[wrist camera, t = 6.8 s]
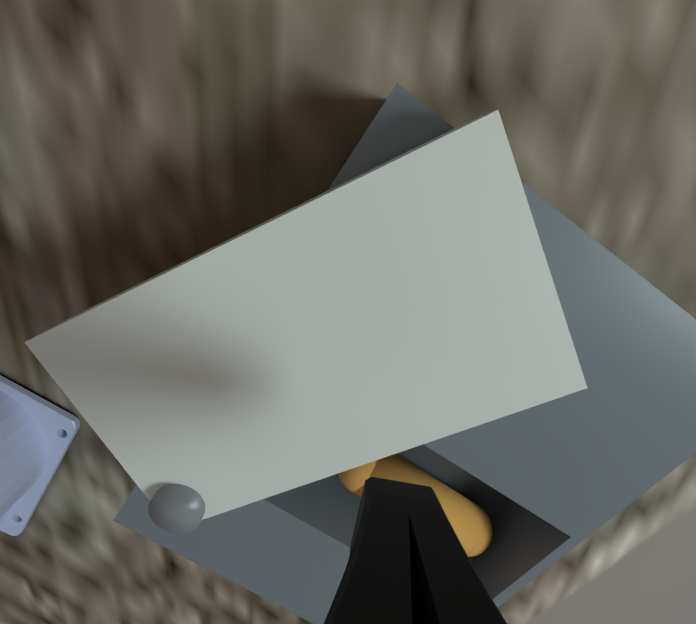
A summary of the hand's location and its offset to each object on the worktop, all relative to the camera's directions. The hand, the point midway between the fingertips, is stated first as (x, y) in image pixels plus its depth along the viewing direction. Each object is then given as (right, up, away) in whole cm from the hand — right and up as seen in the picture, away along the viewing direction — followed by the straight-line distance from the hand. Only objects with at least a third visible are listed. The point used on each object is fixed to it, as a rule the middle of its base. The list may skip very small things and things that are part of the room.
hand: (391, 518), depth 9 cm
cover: (-2, +3, +5) cm, 7 cm away
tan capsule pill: (+3, -3, +11) cm, 12 cm away
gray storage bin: (+2, 0, +11) cm, 11 cm away
